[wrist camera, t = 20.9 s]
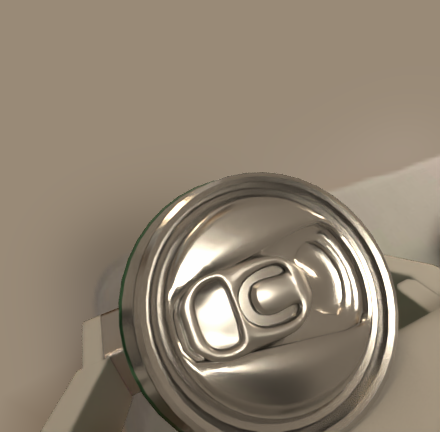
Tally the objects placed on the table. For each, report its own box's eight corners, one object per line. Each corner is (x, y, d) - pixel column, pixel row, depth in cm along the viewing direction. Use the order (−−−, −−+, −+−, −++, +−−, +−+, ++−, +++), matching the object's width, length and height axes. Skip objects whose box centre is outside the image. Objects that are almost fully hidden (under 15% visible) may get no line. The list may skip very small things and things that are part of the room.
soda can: (262, 335, 16) (478, 397, 5) (169, 374, 15) (165, 578, 4) (229, 246, 17) (341, 125, 6) (141, 275, 16) (68, 194, 5)
